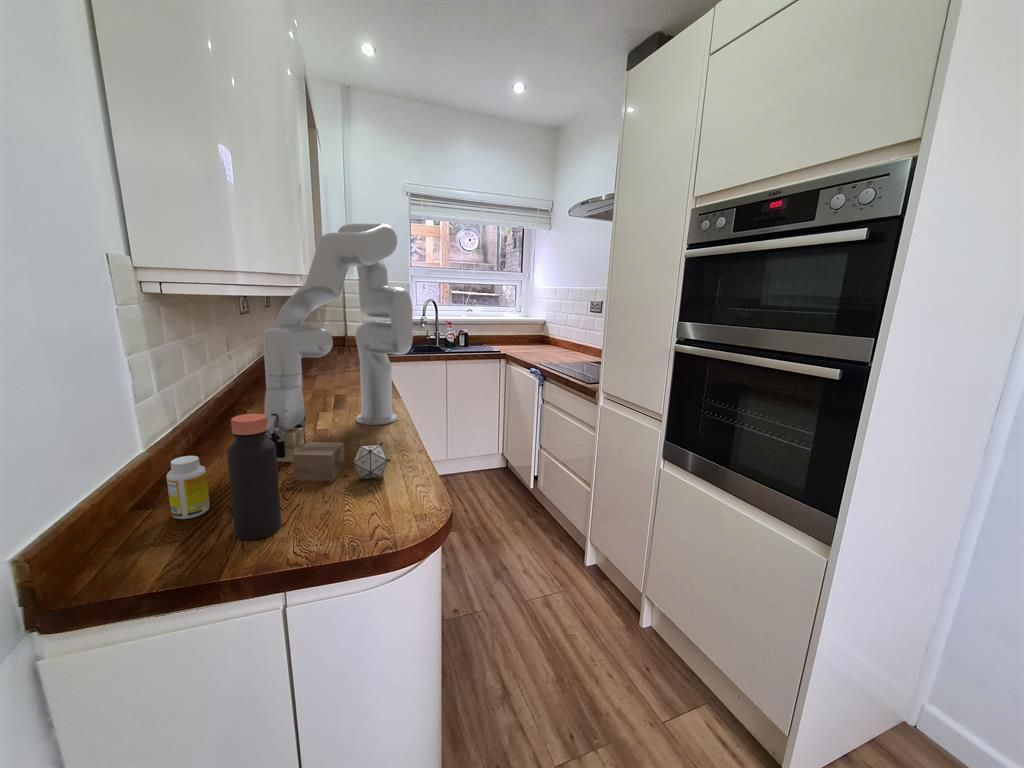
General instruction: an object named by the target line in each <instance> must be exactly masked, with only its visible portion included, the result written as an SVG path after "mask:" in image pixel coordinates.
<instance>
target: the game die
mask: <svg viewBox="0 0 1024 768" xmlns="http://www.w3.org/2000/svg"><path fill="white" fill-rule="evenodd" d="M383 442H384V441H381V442H380V443H379V444H375V445H374V444H373V445H371V444H370V445H361V444H360V443H358V442H357V446H358V448H357V452H356V454H355V456H354V459H353V461H350V462H349V465H353V467H354V468H355V471H356V474H357V475H358V480H357V482H358V483H360V482H361V480H363V479H364V480H365V479H374V478H375V479H376V478H380V480H383V481H384V477H383V474H384V471H385V469H386V466H387V464H388V462H391V459H390V458H387V456H386V453H385V452H384V451H385V450H384V449H383Z"/></svg>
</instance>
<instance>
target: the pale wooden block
mask: <svg viewBox="0 0 1024 768" xmlns="http://www.w3.org/2000/svg"><path fill="white" fill-rule="evenodd" d="M275 433H276V434H277V435H278V436H279V433H280V432H275ZM282 441H285V457H284V458H277V463H278V462H280V463H281V462H285V463H293V454H294V453H295V452H297V451H298V450H299V449H300V448H302V447H303V446H304V445H305V443H304V432H303V428H291V429H289V430H288V431H285V433H284V437H283V440H282Z"/></svg>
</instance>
